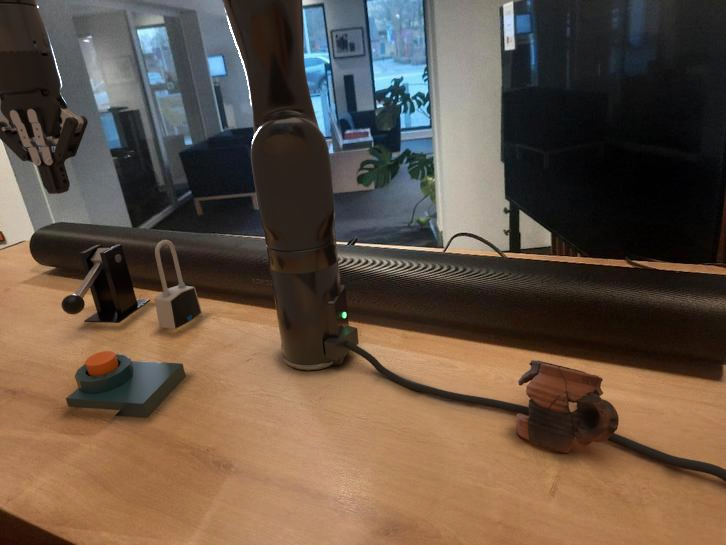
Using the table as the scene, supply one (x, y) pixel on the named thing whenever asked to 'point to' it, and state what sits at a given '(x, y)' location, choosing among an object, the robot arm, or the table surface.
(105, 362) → the button
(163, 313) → the padlock
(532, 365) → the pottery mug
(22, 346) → the table surface
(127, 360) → the control block
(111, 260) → the black lever base
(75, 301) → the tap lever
